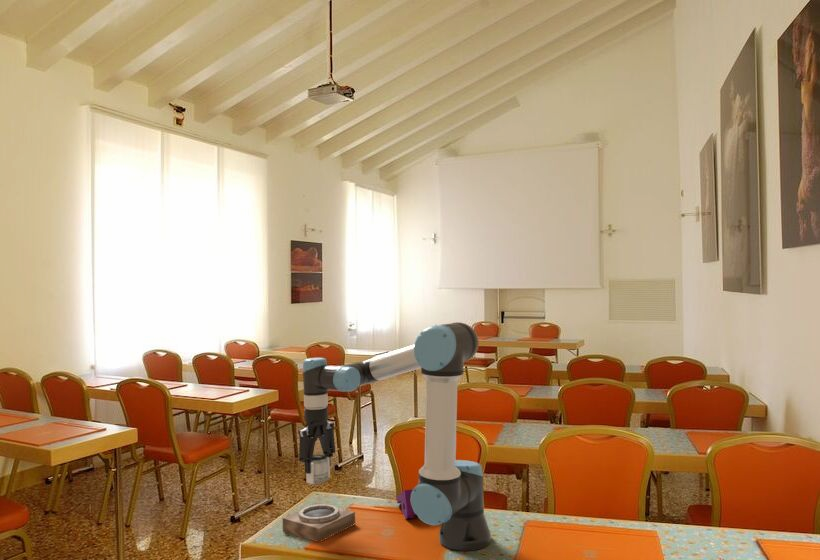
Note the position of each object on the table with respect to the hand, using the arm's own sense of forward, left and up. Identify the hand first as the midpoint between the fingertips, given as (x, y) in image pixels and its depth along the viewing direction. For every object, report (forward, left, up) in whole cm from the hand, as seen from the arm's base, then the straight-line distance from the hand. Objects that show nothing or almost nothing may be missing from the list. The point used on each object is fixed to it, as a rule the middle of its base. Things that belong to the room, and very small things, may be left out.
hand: (318, 479), depth 199 cm
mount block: (0, 0, -15) cm, 15 cm away
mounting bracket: (-17, -28, -16) cm, 36 cm away
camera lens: (0, 0, -1) cm, 1 cm away
